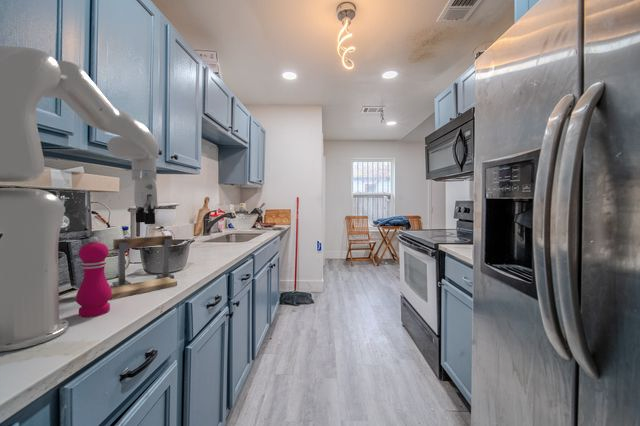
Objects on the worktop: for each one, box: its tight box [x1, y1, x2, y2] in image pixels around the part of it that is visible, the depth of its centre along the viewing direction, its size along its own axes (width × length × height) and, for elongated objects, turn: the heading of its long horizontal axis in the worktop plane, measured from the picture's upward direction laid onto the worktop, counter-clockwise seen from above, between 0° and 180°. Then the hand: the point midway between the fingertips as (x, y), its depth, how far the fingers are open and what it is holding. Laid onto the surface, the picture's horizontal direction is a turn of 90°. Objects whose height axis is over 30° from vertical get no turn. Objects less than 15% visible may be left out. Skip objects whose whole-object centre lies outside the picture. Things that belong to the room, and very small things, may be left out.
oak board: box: [108, 277, 178, 301], centre depth 89 cm, size 22×8×2 cm, turn 139°
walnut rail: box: [112, 234, 173, 251], centre depth 98 cm, size 18×2×3 cm, turn 139°
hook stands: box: [111, 239, 175, 287], centre depth 99 cm, size 18×6×15 cm, turn 139°
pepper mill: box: [75, 236, 112, 318], centre depth 70 cm, size 7×7×20 cm
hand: (145, 223), depth 99 cm, fingers open, 9 cm apart
